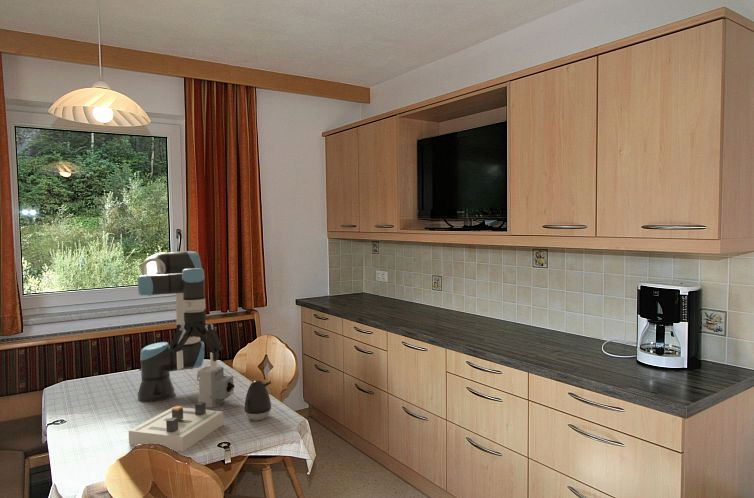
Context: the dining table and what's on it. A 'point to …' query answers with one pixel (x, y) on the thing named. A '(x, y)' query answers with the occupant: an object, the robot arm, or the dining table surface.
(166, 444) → the breaker panel
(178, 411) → the block
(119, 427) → the dining table surface
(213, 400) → the circuit breaker
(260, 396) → the pump dispenser
